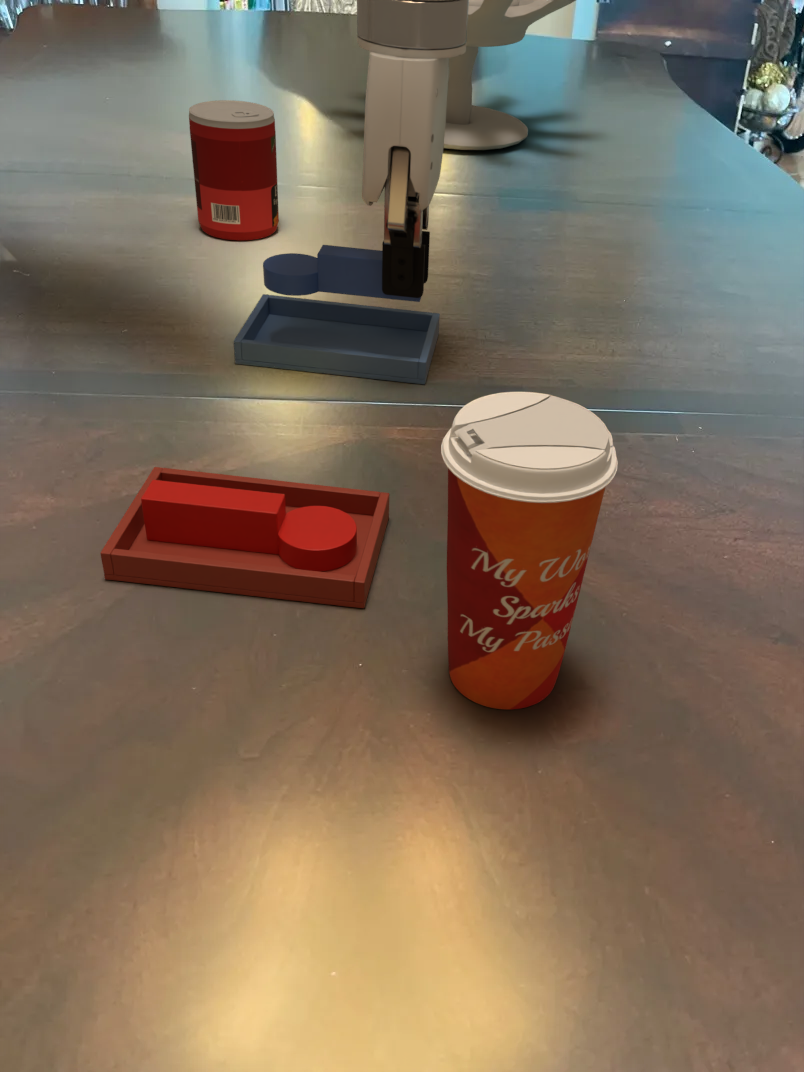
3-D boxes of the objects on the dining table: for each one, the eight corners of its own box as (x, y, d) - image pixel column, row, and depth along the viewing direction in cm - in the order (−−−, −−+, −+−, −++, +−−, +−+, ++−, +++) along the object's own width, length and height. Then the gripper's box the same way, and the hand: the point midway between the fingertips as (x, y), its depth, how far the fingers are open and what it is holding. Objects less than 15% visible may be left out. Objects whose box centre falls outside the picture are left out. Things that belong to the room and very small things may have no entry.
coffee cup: (462, 741, 53) (486, 486, 44) (405, 641, 59) (416, 397, 49) (606, 704, 56) (659, 458, 47) (539, 612, 62) (573, 377, 52)
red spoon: (139, 552, 63) (132, 510, 61) (164, 509, 66) (159, 468, 64) (349, 576, 62) (349, 534, 60) (362, 531, 66) (363, 490, 64)
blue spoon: (425, 285, 85) (426, 248, 84) (417, 309, 82) (419, 270, 80) (271, 270, 86) (269, 232, 84) (257, 292, 82) (255, 254, 80)
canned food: (292, 235, 106) (288, 117, 99) (217, 246, 102) (207, 124, 95) (259, 211, 111) (253, 97, 103) (186, 220, 107) (175, 102, 100)
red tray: (104, 579, 61) (99, 552, 60) (157, 491, 68) (154, 466, 67) (364, 608, 61) (364, 582, 60) (388, 517, 68) (389, 492, 67)
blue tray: (234, 363, 83) (233, 341, 82) (264, 315, 91) (262, 293, 90) (425, 384, 83) (426, 362, 82) (438, 334, 91) (439, 313, 89)
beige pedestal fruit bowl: (381, 182, 121) (385, -105, 104) (294, 103, 145) (286, -142, 128) (634, 168, 133) (676, -91, 116) (516, 97, 157) (536, -126, 140)
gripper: (376, -2, 78) (374, 248, 89) (335, 40, 65) (339, 323, 77) (476, 8, 78) (461, 257, 89) (455, 52, 65) (441, 334, 77)
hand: (405, 286), depth 83 cm, fingers closed on blue spoon, 2 cm apart
